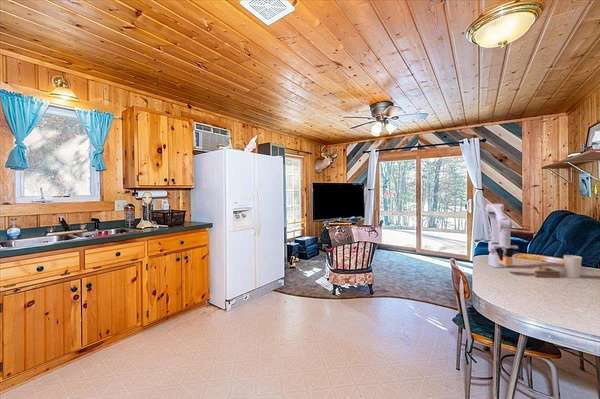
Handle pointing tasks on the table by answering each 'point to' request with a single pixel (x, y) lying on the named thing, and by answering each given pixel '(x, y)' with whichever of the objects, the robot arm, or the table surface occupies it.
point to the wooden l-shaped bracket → (546, 272)
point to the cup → (572, 266)
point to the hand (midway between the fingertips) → (504, 259)
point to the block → (506, 260)
